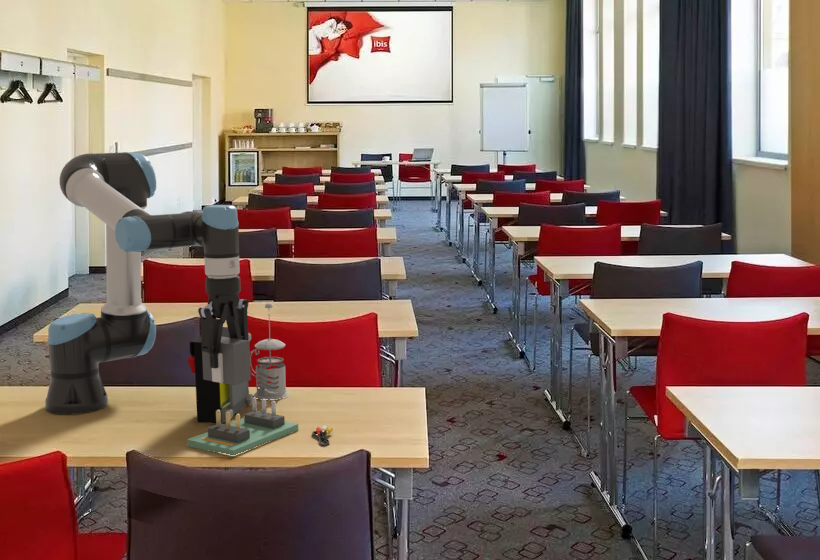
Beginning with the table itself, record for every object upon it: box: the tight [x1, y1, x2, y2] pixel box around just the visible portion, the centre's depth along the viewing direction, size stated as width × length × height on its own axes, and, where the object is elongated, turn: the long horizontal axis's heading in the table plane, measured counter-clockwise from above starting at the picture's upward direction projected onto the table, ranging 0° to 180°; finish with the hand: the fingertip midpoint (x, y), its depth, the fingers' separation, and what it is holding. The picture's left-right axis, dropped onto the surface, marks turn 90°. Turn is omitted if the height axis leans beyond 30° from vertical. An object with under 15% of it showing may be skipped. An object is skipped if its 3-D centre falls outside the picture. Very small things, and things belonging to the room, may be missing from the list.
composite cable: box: [311, 424, 334, 447], centre depth 218 cm, size 10×5×2 cm, turn 0°
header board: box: [186, 397, 299, 455], centre depth 219 cm, size 14×22×8 cm, turn 147°
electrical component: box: [186, 326, 254, 425], centre depth 237 cm, size 18×10×20 cm, turn 168°
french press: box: [250, 302, 290, 400], centre depth 252 cm, size 10×12×25 cm
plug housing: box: [202, 337, 252, 385], centre depth 212 cm, size 10×5×9 cm, turn 57°
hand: (227, 378), depth 213 cm, fingers closed on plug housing, 5 cm apart
